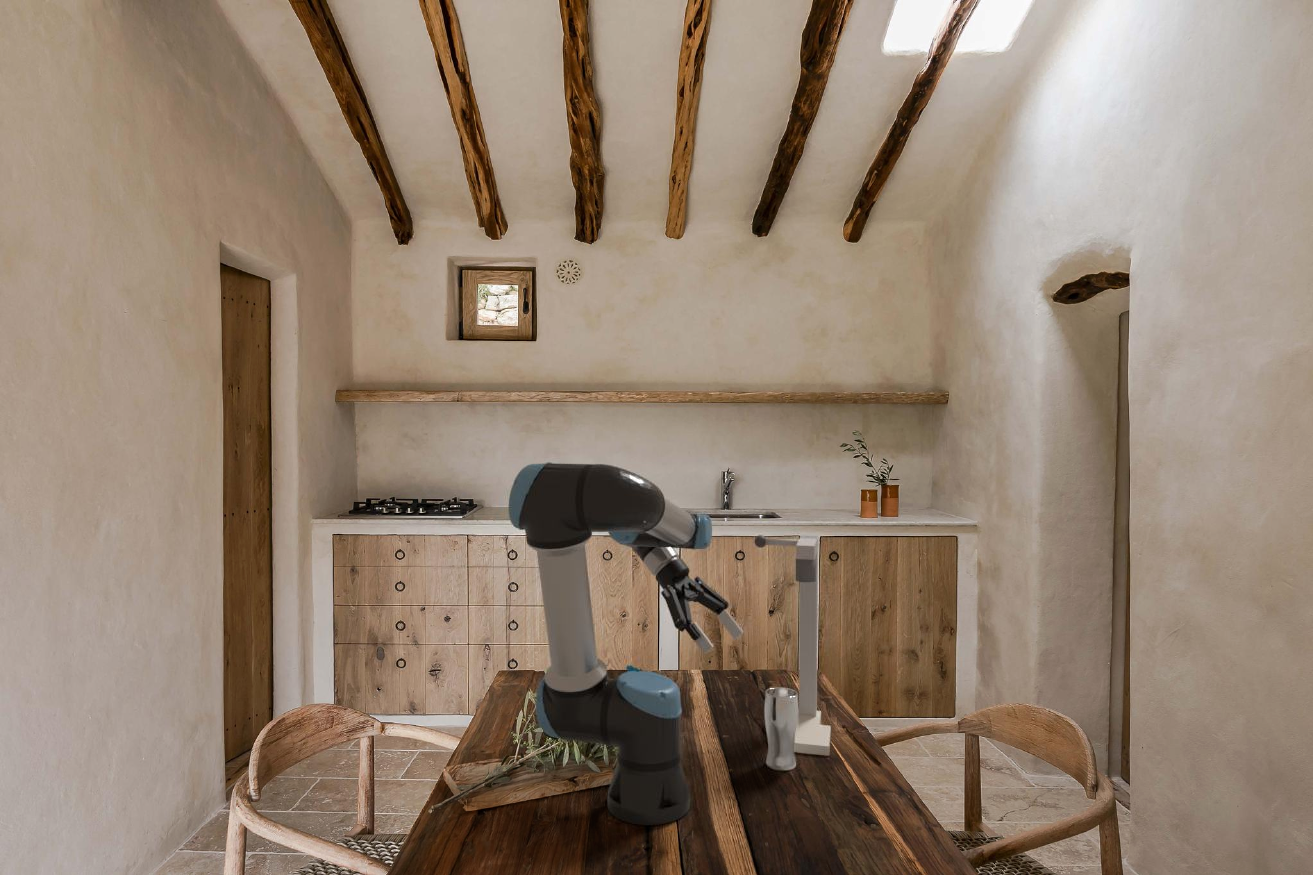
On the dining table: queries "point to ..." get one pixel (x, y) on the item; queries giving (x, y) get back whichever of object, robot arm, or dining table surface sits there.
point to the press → (806, 645)
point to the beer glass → (781, 727)
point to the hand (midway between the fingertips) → (724, 643)
